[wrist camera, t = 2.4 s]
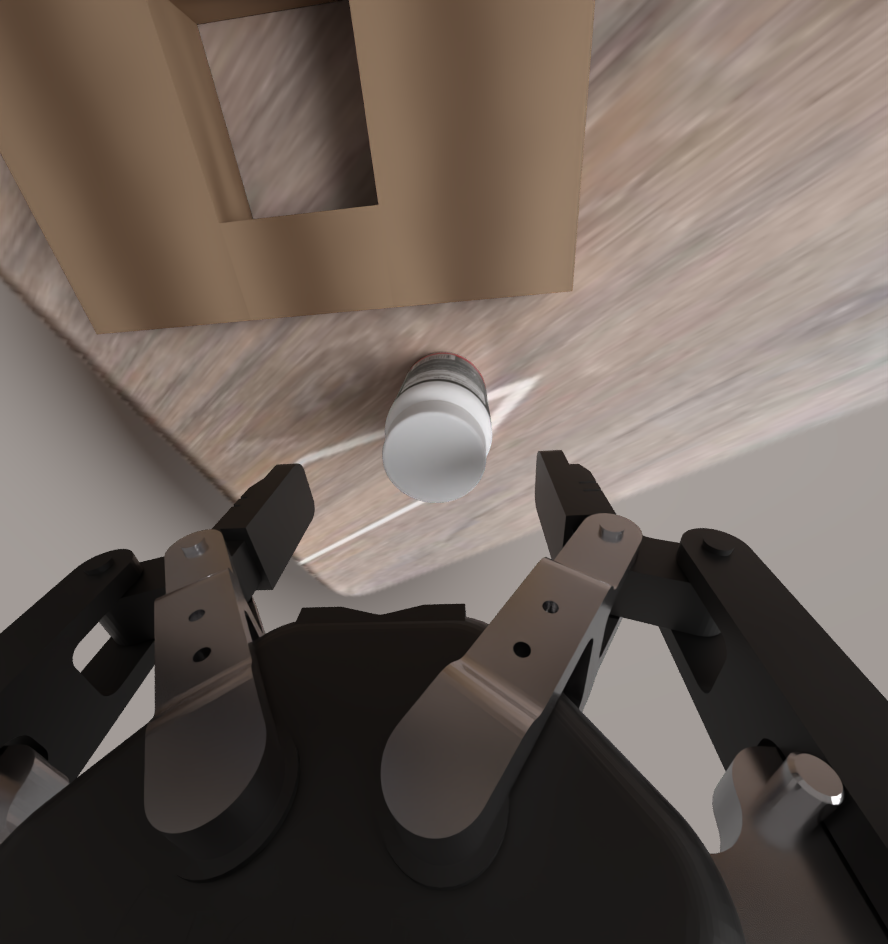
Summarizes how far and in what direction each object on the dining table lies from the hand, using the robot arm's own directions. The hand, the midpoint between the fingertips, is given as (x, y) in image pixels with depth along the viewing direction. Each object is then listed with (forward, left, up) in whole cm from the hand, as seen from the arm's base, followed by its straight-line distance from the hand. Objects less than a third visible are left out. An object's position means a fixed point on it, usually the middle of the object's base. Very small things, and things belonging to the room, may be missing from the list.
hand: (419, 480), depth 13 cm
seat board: (+5, -12, -10) cm, 16 cm away
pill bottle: (0, 0, -10) cm, 10 cm away
